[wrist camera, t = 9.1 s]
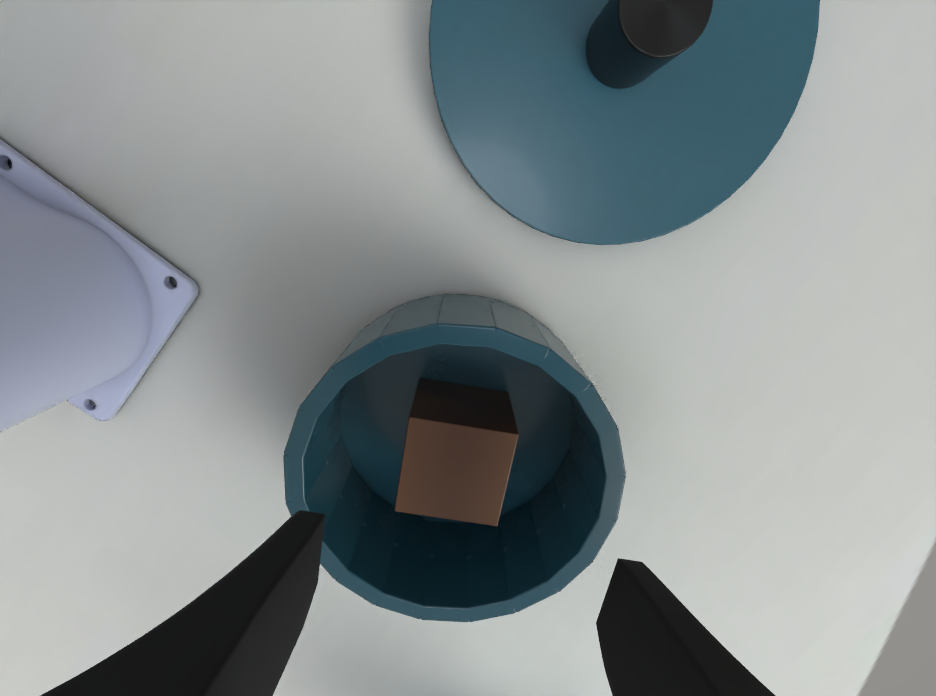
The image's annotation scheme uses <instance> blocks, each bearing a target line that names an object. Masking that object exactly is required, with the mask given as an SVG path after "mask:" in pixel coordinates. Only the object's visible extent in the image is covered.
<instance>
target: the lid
mask: <svg viewBox="0 0 936 696" xmlns="http://www.w3.org/2000/svg"><path fill="white" fill-rule="evenodd" d="M819 5H820V0H432V6H431V17H430V30H429V50H430V68H431V75H432V81H433V88H434V94H435V98H436V101H437V105H438V108H439V112H440V116H441V119H442V122H443V125H444V127H445V130H446V132H447V134H448V137H449V139H450V142H451V144H452V146H453V148H454V150H455V151H456V153H457V155H458V157H459V159H460V160H461V162H462V164H463V166H464V167H465V169H466V170H467V171H468V173H469V174H470V175H471V177H472V178H473V179H474V181H475V182H476V183H477V185H478V186H479V187H480V188H481V189H482V190H483V191H484V192H485V193H486V194H487V195H488V196H489V197H490V198H491V199H492V200H493V201H494V202H495V203H496V204H497V205H499V206H500V207H501V208H502V209H504V210H505V211H506V212H507V213H509V214H510V215H511V216H513V217H514V218H516V219H518V220H519V221H521V222H523V223H525V224H526V225H528V226H530V227H531V228H534V229H536V230H539V231H541V232H544V233H546V234H548V235H551V236H553V237H557V238H561V239H565V240H569V241H573V242H578V243H587V244H595V245H612V244H626V243H632V242H639V241H644V240H648V239H651V238H655V237H658V236H662V235H665V234H667V233H670V232H672V231H675V230H677V229H679V228H682V227H684V226H686V225H688V224H690V223H692V222H693V221H695V220H697V219H699V218H700V217H702V216H704V215H706V214H707V213H709V212H710V211H712V210H713V209H714V208H716V207H717V206H718V205H720V204H721V203H722V202H724V201H725V200H726V199H728V198H729V197H730V196H731V195H732V194H733V193H734V192H735V191H736V190H738V189H739V188H740V187H741V186H742V185H743V184H744V183H745V182H746V181H747V180H748V179H749V178H750V177H751V176H752V174H753V173H754V172H755V171H756V170H757V169H758V167H759V166H760V165H761V164H762V163H763V162H764V160H765V159H766V158H767V156H768V155H769V153H770V152H771V150H772V149H773V148H774V146H775V145H776V143H777V142H778V140H779V139H780V137H781V136H782V134H783V132H784V130H785V128H786V126H787V124H788V123H789V121H790V119H791V117H792V115H793V113H794V111H795V109H796V106H797V104H798V101H799V99H800V97H801V94H802V92H803V89H804V87H805V84H806V80H807V77H808V73H809V70H810V66H811V63H812V60H813V55H814V49H815V43H816V38H817V32H818V21H819Z"/></svg>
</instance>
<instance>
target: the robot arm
mask: <svg viewBox="0 0 936 696" xmlns="http://www.w3.org/2000/svg"><path fill="white" fill-rule="evenodd" d="M8 158H9V159H10V160H11V162H12V168H10V167H9V166H8V163H7V161H8ZM170 277H174V278H175V280H176V281H177V286H176V287H174V286H172V285H171V283H170ZM197 295H198V287H197V285H196V283H195V282H194V281H193V280H192V279H191V278H189V277H188V276H187V275H185V274H184V273H182V272H181V271H180V270H178V269H177V268H176V267H174V266H173V265H171V264H170V263H169V262H167V261H166V260H165V259H163V258H162V257H161V256H159V255H158V254H156V253H155V252H154V251H152V250H151V249H150V248H148V247H147V246H146V245H144V244H143V243H141V242H140V241H139V240H137V239H136V238H135V237H133V236H132V235H131V234H129V233H128V232H126V231H125V230H124V229H122V228H121V227H120V226H118V225H117V224H115V223H114V222H113V221H111V220H110V219H109V218H107V217H106V216H105V215H103V214H102V213H100V212H99V211H98V210H96V209H95V208H94V207H92V206H91V205H90V204H88V203H87V202H85V201H84V200H83V199H81V198H80V197H79V196H77V195H76V194H75V193H73V192H72V191H70V190H69V189H68V188H66V187H65V186H64V185H62V184H61V183H59V182H58V181H57V180H55V179H54V178H53V177H51V176H50V175H49V174H47V173H46V172H44V171H43V170H42V169H40V168H39V167H38V166H36V165H35V164H34V163H32V162H31V161H29V160H28V159H27V158H25V157H24V156H23V155H21V154H20V153H18V152H17V151H16V150H14V149H13V148H12V147H10V146H9V145H8V144H6V143H5V142H3V141H2V140H1V139H0V432H2V431H4V430H6V429H8V428H10V427H12V426H14V425H16V424H18V423H20V422H22V421H24V420H27V419H29V418H31V417H33V416H35V415H37V414H39V413H41V412H43V411H45V410H47V409H49V408H51V407H53V406H55V405H57V404H59V403H62V402H64V401H66V400H67V401H68V402H70V403H72V404H73V405H75V406H76V407H78V408H79V409H81V410H83V411H84V412H86V413H87V414H89V415H90V416H92V417H94V418H95V419H97V420H99V421H107V420H109V419H111V418H113V417H114V416H115V415H116V414H117V413H118V411H119V410H120V408H121V407H122V405H123V404H124V402H125V401H126V400H127V398H128V397H129V395H130V394H131V392H132V391H133V389H134V388H135V386H136V385H137V383H138V382H139V381H140V379H141V378H142V376H143V375H144V373H145V372H146V370H147V369H148V367H149V366H150V364H151V363H152V361H153V360H154V359H155V357H156V356H157V354H158V353H159V351H160V350H161V348H162V347H163V345H164V344H165V342H166V341H167V340H168V338H169V337H170V335H171V334H172V332H173V331H174V329H175V328H176V326H177V325H178V323H179V322H180V321H181V319H182V318H183V316H184V315H185V313H186V312H187V310H188V309H189V307H190V306H191V304H192V303H193V302H194V300H195V299H196V297H197ZM90 400H93V401H94V402H95V404H96V406H94V405H93V404H92V403H91V401H90ZM324 523H325V514H323V513H316V512H310V511H303V510H299V511H298V512H296V513H294V514H293V515H292V516H291V517H290V518H289V519H288V520H287V521H286V522H285V523H284V524H283V525H282V526H281V527H280V528H279V529H278V530H277V531H276V532H275V533H274V534H273V535H272V536H270V537H269V538H268V539H267V540H266V541H265V542H264V543H263V544H262V545H261V546H259V547H258V548H257V549H256V550H255V551H254V552H253V553H251V554H250V555H249V556H248V557H247V558H246V559H244V560H243V561H242V562H241V563H240V564H239V565H238V566H236V567H235V568H234V569H233V570H232V571H230V572H229V573H228V574H227V575H226V576H224V577H223V578H222V579H220V580H219V581H218V582H217V583H215V584H214V585H213V586H211V587H210V588H209V589H208V590H206V591H205V592H204V593H203V594H201V595H200V596H199V597H197V598H196V599H195V600H193V601H192V602H191V603H189V604H188V605H187V606H185V607H184V608H183V609H181V610H180V611H178V612H177V613H176V614H174V615H173V616H171V617H170V618H168V619H167V620H166V621H164V622H163V623H161V624H160V625H158V626H157V627H155V628H154V629H152V630H151V631H149V632H148V633H146V634H145V635H143V636H142V637H140V638H139V639H137V640H135V641H134V642H132V643H131V644H129V645H127V646H126V647H124V648H123V649H121V650H119V651H118V652H116V653H115V654H113V655H111V656H110V657H108V658H106V659H105V660H103V661H101V662H100V663H98V664H96V665H95V666H93V667H91V668H90V669H88V670H86V671H85V672H83V673H81V674H79V675H78V676H76V677H74V678H72V679H70V680H68V681H67V682H65V683H63V684H61V685H59V686H57V687H55V688H54V689H52V690H50V691H48V692H46V693H44V694H42V695H41V696H273V693H274V691H275V689H276V687H277V685H278V682H279V680H280V678H281V676H282V673H283V671H284V669H285V667H286V664H287V662H288V660H289V658H290V655H291V653H292V651H293V649H294V646H295V644H296V642H297V640H298V637H299V635H300V633H301V631H302V628H303V626H304V623H305V620H306V617H307V614H308V611H309V608H310V605H311V602H312V599H313V595H314V592H315V589H316V586H317V583H318V575H319V566H320V557H321V549H322V540H323V531H324ZM596 625H597V631H598V636H599V642H600V648H601V653H602V658H603V662H604V667H605V671H606V675H607V678H608V681H609V685H610V688H611V691H612V694H613V696H775V695H774V694H773V693H772V692H771V691H770V690H769V689H767V688H766V687H765V686H764V685H763V684H762V683H761V682H760V681H759V680H758V679H757V678H756V677H755V676H753V675H752V674H751V673H750V672H749V671H748V670H747V669H746V668H745V667H744V666H743V665H742V664H741V663H740V662H739V661H738V660H737V659H736V658H735V657H734V656H733V655H732V654H731V653H730V652H729V651H728V650H727V649H726V648H725V647H724V646H723V645H722V644H721V643H720V642H719V641H718V640H717V639H716V638H715V637H714V636H713V635H712V634H711V633H710V632H709V631H708V630H707V629H706V628H705V627H704V626H703V625H702V624H701V623H700V622H699V621H698V620H697V619H696V618H695V617H694V616H693V615H692V614H691V613H690V611H689V610H688V609H687V608H686V607H685V606H684V605H683V604H682V603H681V602H680V601H679V600H678V599H677V598H676V597H675V596H674V594H673V593H672V592H671V591H670V590H669V589H668V588H667V587H666V586H665V585H664V584H663V583H662V582H661V581H660V580H659V579H658V578H657V577H656V575H655V574H654V573H653V572H652V571H651V570H650V569H649V568H648V567H647V566H646V565H645V564H643V563H642V562H638V561H632V560H625V559H619V558H618V560H617V563H616V566H615V569H614V572H613V575H612V578H611V581H610V584H609V587H608V590H607V593H606V595H605V598H604V601H603V604H602V607H601V610H600V613H599V616H598V619H597V622H596Z"/></svg>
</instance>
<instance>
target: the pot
mask: <svg viewBox="0 0 936 696" xmlns="http://www.w3.org/2000/svg"><path fill="white" fill-rule="evenodd" d="M419 378H425V379H431V380H437V381H444V382H450V383H456V384H462V385H468V386H474V387H480V388H486V389H492V390H498V391H504V392H509V396H510V400H511V404H512V408H513V413H514V417H515V421H516V425H517V429H518V434H519V436H518V441H517V445H516V449H515V454H514V458H513V462H512V466H511V471H510V475H509V479H508V483H507V488H506V492H505V496H504V501H503V505H502V509H501V513H500V518H499V522H498V525H497V526H491V525H484V524H478V523H471V522H464V521H457V520H450V519H444V518H437V517H430V516H423V515H416V514H409V513H403V512H396V511H395V510H394V509H395V503H396V496H397V490H398V484H399V477H400V471H401V464H402V458H403V451H404V445H405V439H406V432H407V426H408V419H409V415H410V411H411V407H412V403H413V400H414V396H415V392H416V388H417V384H418V380H419ZM283 457H284V478H285V499H286V505H287V507H288V509H289V512H290V514H291V516H292V515H293V514H294V513H296V512H298V511H299V510H303V511H310V512H316V513H323V514H325V523H324V531H323V540H322V549H321V557H320V564H321V565H322V566H323V567H324V568H325V570H326V571H327V572H328V573H329V574H330V575H331V576H332V578H333V579H335V580H336V581H337V582H338V583H340V584H342V585H343V586H345V587H346V588H348V589H349V590H351V591H353V592H354V593H356V594H357V595H359V596H360V597H362V598H364V599H365V600H367V601H368V602H370V603H372V604H373V605H375V604H376V606H378V607H382V608H385V609H388V610H391V611H395V612H398V613H401V614H404V615H407V616H411V617H414V618H417V619H420V618H421V619H422V620H435V621H455V622H468V621H469V622H473V621H478V620H483V619H488V618H493V617H498V616H503V615H508V614H513V613H515V612H519V611H521V610H523V609H525V608H527V607H529V606H531V605H533V604H535V603H537V602H539V601H541V600H543V599H545V598H547V597H549V596H551V595H553V594H556V593H557V592H560V591H561V590H562V589H563V588H564V587H565V586H566V585H567V584H569V583H570V582H571V581H572V580H573V579H574V578H575V577H576V576H578V575H579V574H580V573H581V572H582V571H583V570H584V569H585V568H586V567H588V566H589V565H590V564H591V563H592V562H593V560H594V559H595V557H596V556H597V554H598V552H599V550H600V549H601V547H602V545H603V544H604V542H605V540H606V539H607V537H608V535H609V533H610V532H611V530H612V528H613V527H614V525H615V523H616V521H617V518H618V513H619V508H620V503H621V498H622V493H623V488H624V483H625V478H626V476H625V475H626V472H625V466H624V460H623V454H622V448H621V442H620V436H619V430H618V428H617V425H616V423H615V422H614V420H613V418H612V416H611V415H610V413H609V411H608V409H607V408H606V406H605V404H604V403H603V401H602V399H601V397H600V396H599V394H598V392H597V391H596V389H595V387H594V385H593V384H592V383H591V381H590V380H589V378H588V377H587V376H586V374H585V373H584V371H583V370H582V369H581V367H580V366H579V365H578V363H577V362H576V360H575V359H574V358H573V356H572V355H571V353H570V352H569V351H568V349H567V348H566V347H565V345H564V344H563V343H562V341H561V340H560V339H558V338H557V337H556V336H555V335H554V334H553V333H552V332H551V331H550V330H548V329H547V328H546V327H545V326H544V325H543V324H542V323H540V322H539V321H538V320H536V319H535V318H534V317H533V316H531V315H529V314H528V313H526V312H524V311H522V310H520V309H518V308H516V307H514V306H512V305H509V304H507V303H504V302H502V301H499V300H495V299H491V298H487V297H483V296H477V295H468V294H443V295H436V296H430V297H425V298H421V299H418V300H414V301H411V302H408V303H405V304H403V305H401V306H398V307H396V308H394V309H392V310H390V311H389V312H387V313H385V314H384V315H382V316H380V317H379V318H377V319H376V320H375V321H374V322H372V323H371V324H369V325H368V326H366V327H365V328H364V329H362V330H361V332H360V333H359V334H358V335H357V336H356V338H355V339H354V340H353V341H352V342H351V344H350V345H349V346H348V347H347V348H346V350H345V351H344V352H343V353H342V354H341V356H340V357H339V358H338V359H337V360H336V362H335V363H334V364H333V365H332V366H331V368H330V369H329V370H328V371H327V373H326V374H325V375H324V376H323V378H322V379H321V380H320V381H319V383H318V384H317V385H316V386H315V388H314V389H313V390H312V391H311V392H310V394H309V395H308V396H307V397H306V399H305V400H304V401H303V402H302V404H301V405H300V406H299V409H298V411H297V414H296V417H295V420H294V423H293V426H292V429H291V432H290V435H289V438H288V442H287V445H286V448H285V451H284V456H283Z"/></svg>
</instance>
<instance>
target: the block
mask: <svg viewBox="0 0 936 696" xmlns="http://www.w3.org/2000/svg"><path fill="white" fill-rule="evenodd" d="M518 436H519V434H518V429H517V425H516V421H515V417H514V413H513V408H512V404H511V400H510V396H509V392H504V391H498V390H492V389H486V388H480V387H474V386H468V385H462V384H456V383H450V382H444V381H437V380H431V379H425V378H419V380H418V384H417V388H416V392H415V396H414V400H413V403H412V407H411V411H410V415H409V419H408V426H407V432H406V439H405V445H404V451H403V458H402V464H401V471H400V477H399V484H398V490H397V496H396V503H395V509H394V510H395V511H396V512H403V513H409V514H416V515H423V516H430V517H437V518H444V519H450V520H457V521H464V522H471V523H478V524H484V525H491V526H497V525H498V522H499V518H500V513H501V509H502V505H503V501H504V496H505V492H506V488H507V483H508V479H509V475H510V471H511V466H512V462H513V458H514V454H515V449H516V445H517V441H518Z"/></svg>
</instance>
